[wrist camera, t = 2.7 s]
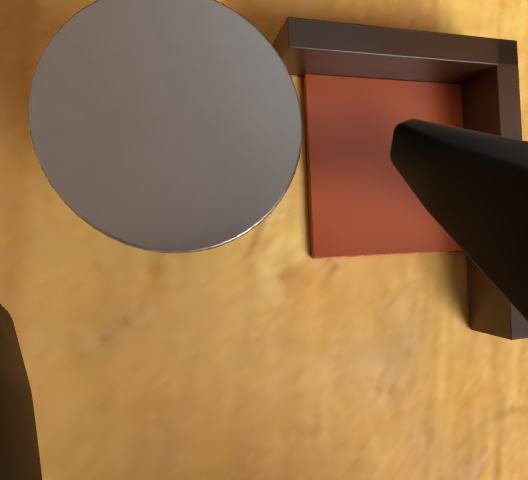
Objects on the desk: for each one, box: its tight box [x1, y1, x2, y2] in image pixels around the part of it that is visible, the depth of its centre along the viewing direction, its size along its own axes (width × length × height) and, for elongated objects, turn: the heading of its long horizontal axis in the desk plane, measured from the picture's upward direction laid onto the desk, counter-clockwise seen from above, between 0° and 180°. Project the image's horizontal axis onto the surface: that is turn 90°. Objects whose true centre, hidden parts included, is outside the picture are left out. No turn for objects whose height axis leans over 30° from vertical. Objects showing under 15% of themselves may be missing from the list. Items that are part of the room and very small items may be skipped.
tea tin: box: [29, 0, 302, 253], centre depth 13 cm, size 6×6×8 cm
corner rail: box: [272, 17, 528, 340], centre depth 18 cm, size 14×11×2 cm
